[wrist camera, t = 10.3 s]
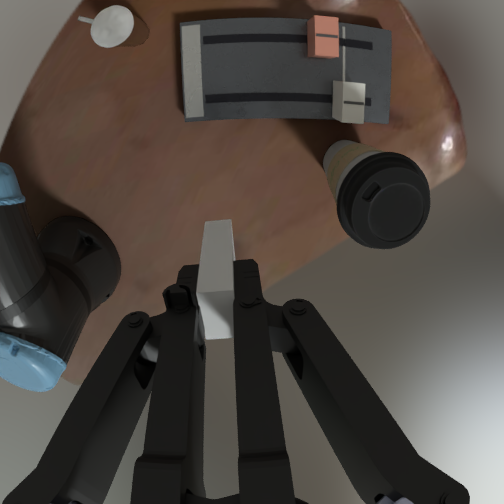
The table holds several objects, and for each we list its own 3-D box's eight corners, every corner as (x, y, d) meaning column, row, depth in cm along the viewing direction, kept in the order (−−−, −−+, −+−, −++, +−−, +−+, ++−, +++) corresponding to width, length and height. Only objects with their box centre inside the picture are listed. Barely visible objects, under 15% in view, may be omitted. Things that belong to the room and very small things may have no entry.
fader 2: (332, 117, 33) (342, 122, 30) (332, 80, 31) (343, 81, 28) (351, 118, 34) (363, 124, 30) (353, 82, 31) (365, 83, 28)
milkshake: (123, 11, 27) (88, -3, 19) (161, 22, 29) (134, 7, 20) (108, 44, 29) (69, 39, 21) (145, 55, 31) (113, 51, 22)
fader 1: (307, 57, 30) (315, 55, 26) (307, 21, 28) (314, 15, 24) (328, 58, 30) (339, 57, 26) (328, 23, 28) (338, 17, 24)
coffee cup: (316, 120, 36) (356, 148, 23) (385, 134, 36) (449, 170, 24) (303, 191, 41) (331, 252, 28) (369, 200, 41) (418, 260, 29)
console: (187, 119, 35) (184, 122, 34) (183, 25, 29) (179, 22, 27) (382, 121, 36) (388, 124, 34) (384, 32, 29) (391, 30, 28)
